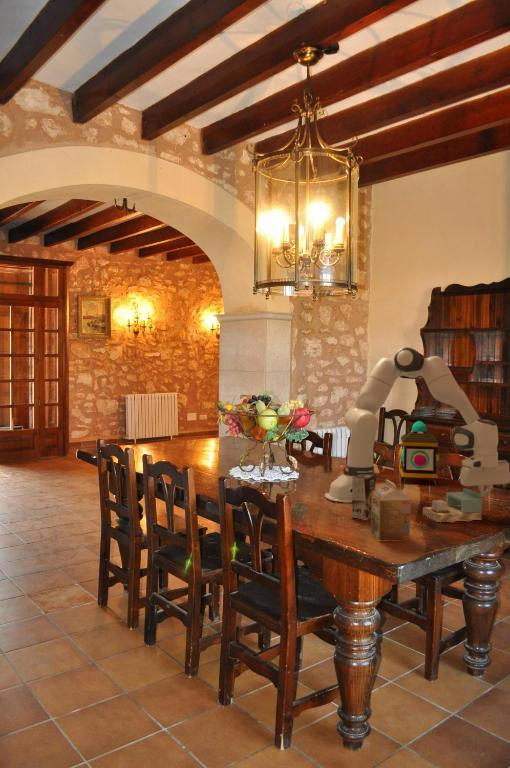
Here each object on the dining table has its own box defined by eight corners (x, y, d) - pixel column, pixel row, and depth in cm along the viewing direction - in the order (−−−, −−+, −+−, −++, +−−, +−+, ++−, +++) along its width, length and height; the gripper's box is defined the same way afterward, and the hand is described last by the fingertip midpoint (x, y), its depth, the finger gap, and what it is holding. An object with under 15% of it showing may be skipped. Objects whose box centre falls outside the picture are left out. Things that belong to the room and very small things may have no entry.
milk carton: (409, 540, 206) (410, 485, 205) (379, 541, 206) (380, 485, 205) (399, 531, 217) (400, 478, 216) (370, 532, 216) (371, 479, 215)
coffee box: (367, 521, 230) (367, 478, 229) (351, 518, 234) (351, 476, 233) (375, 515, 238) (376, 474, 237) (360, 513, 241) (360, 473, 241)
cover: (462, 512, 230) (463, 495, 229) (445, 505, 241) (446, 488, 241) (481, 511, 232) (482, 494, 231) (464, 503, 243) (464, 487, 243)
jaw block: (437, 518, 232) (437, 502, 232) (431, 515, 236) (431, 500, 236) (446, 517, 233) (446, 502, 233) (441, 515, 237) (441, 499, 236)
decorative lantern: (441, 486, 291) (442, 423, 289) (398, 484, 294) (399, 422, 293) (436, 477, 310) (437, 419, 309) (396, 476, 314) (397, 418, 312)
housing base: (438, 523, 228) (438, 515, 227) (422, 514, 239) (422, 507, 239) (481, 520, 232) (481, 512, 232) (463, 512, 243) (464, 504, 243)
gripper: (503, 458, 243) (503, 492, 244) (458, 460, 239) (457, 495, 239) (514, 461, 237) (513, 496, 238) (467, 463, 232) (466, 499, 233)
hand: (485, 496), depth 239 cm, fingers closed
